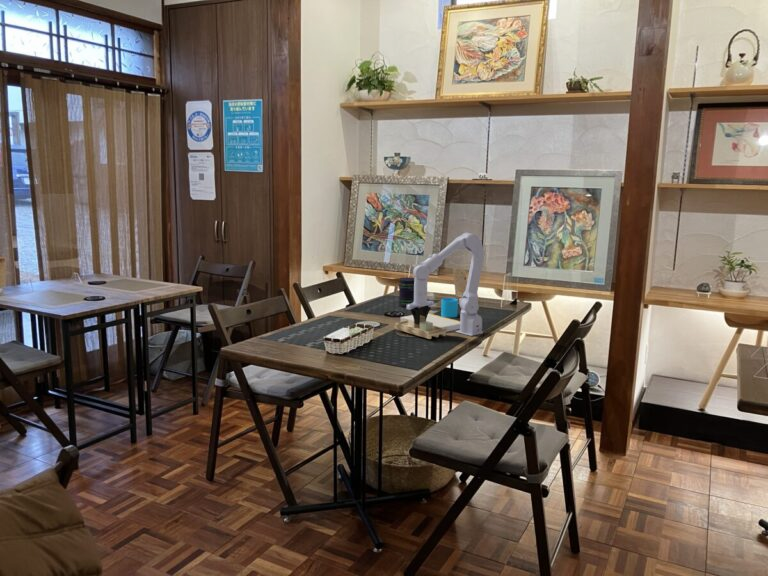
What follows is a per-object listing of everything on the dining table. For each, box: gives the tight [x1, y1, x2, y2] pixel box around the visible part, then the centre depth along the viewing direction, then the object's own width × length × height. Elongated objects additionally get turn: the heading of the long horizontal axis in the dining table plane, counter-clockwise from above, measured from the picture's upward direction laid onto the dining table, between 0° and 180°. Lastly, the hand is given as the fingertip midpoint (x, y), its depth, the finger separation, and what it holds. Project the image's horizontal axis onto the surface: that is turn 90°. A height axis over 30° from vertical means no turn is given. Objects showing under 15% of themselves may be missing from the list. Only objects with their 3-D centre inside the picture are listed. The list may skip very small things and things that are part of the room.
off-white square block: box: [408, 318, 415, 327], centre depth 275 cm, size 4×4×3 cm
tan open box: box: [394, 315, 447, 340], centre depth 272 cm, size 22×10×7 cm, turn 40°
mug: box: [440, 297, 459, 318], centre depth 311 cm, size 12×8×8 cm
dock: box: [400, 312, 460, 333], centre depth 289 cm, size 26×16×3 cm, turn 40°
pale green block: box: [420, 321, 433, 331], centre depth 269 cm, size 4×4×3 cm
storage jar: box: [398, 277, 415, 310], centre depth 329 cm, size 10×10×15 cm
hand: (420, 323), depth 272 cm, fingers closed on tan open box, 3 cm apart
